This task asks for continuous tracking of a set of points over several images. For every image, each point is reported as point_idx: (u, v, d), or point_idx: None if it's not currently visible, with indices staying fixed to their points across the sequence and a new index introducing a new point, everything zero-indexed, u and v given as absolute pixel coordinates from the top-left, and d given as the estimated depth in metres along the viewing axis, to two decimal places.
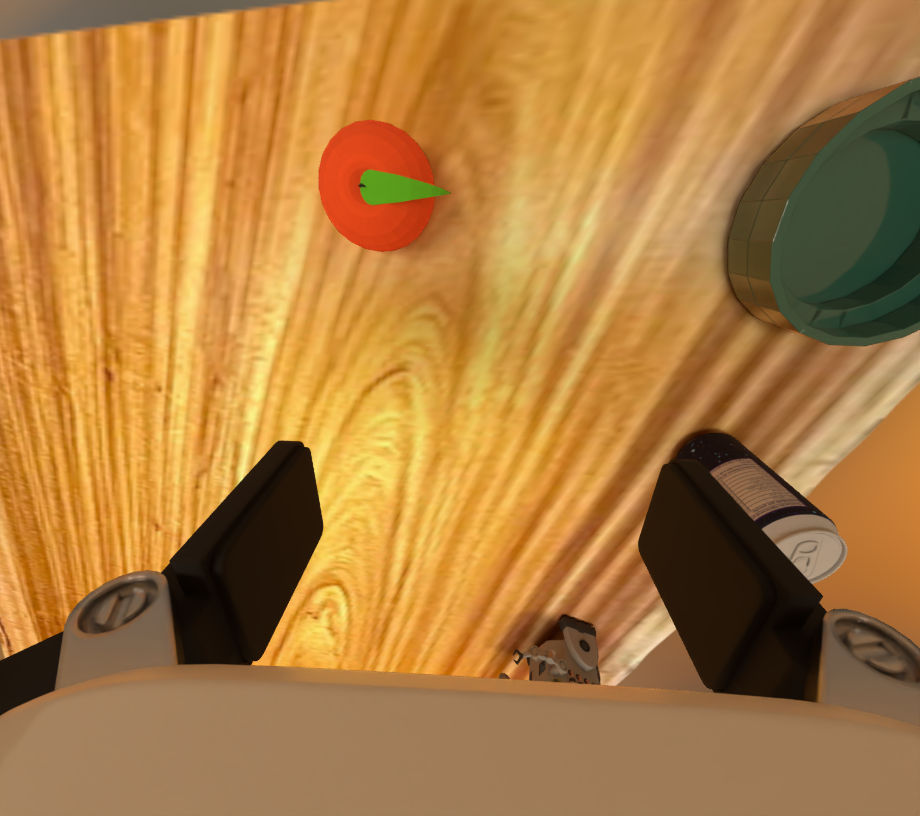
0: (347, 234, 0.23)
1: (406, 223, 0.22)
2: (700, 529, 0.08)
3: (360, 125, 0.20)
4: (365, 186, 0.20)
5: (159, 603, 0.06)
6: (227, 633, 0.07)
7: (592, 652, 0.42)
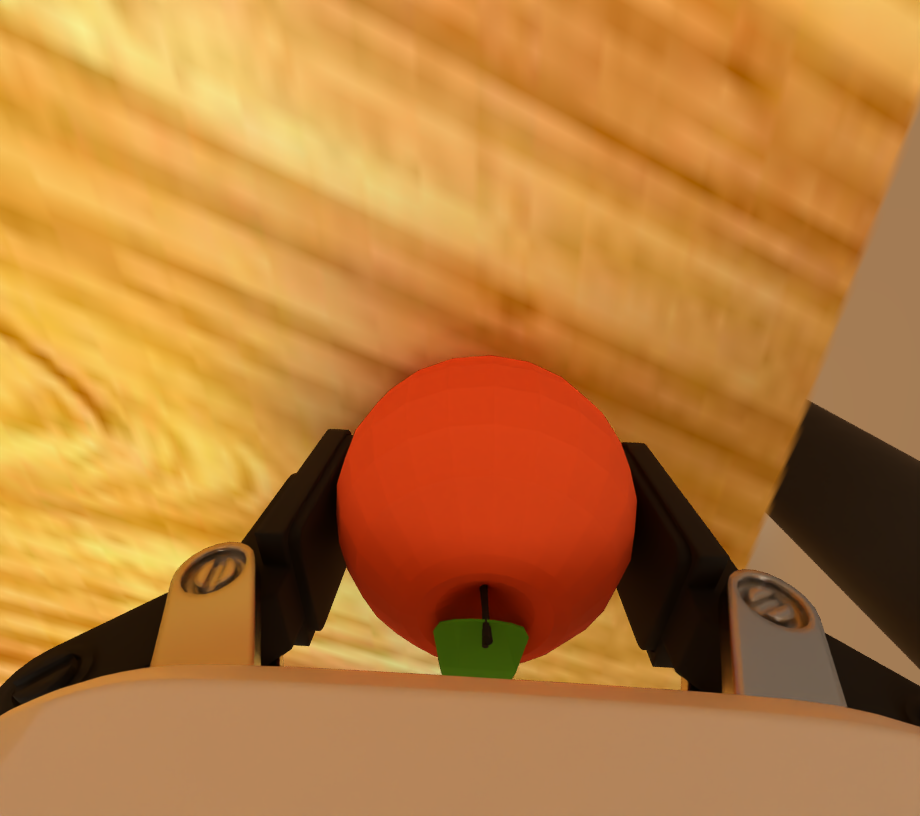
0: (358, 487, 0.07)
1: None
2: (638, 504, 0.08)
3: None
4: None
5: (250, 569, 0.06)
6: (298, 602, 0.07)
7: None
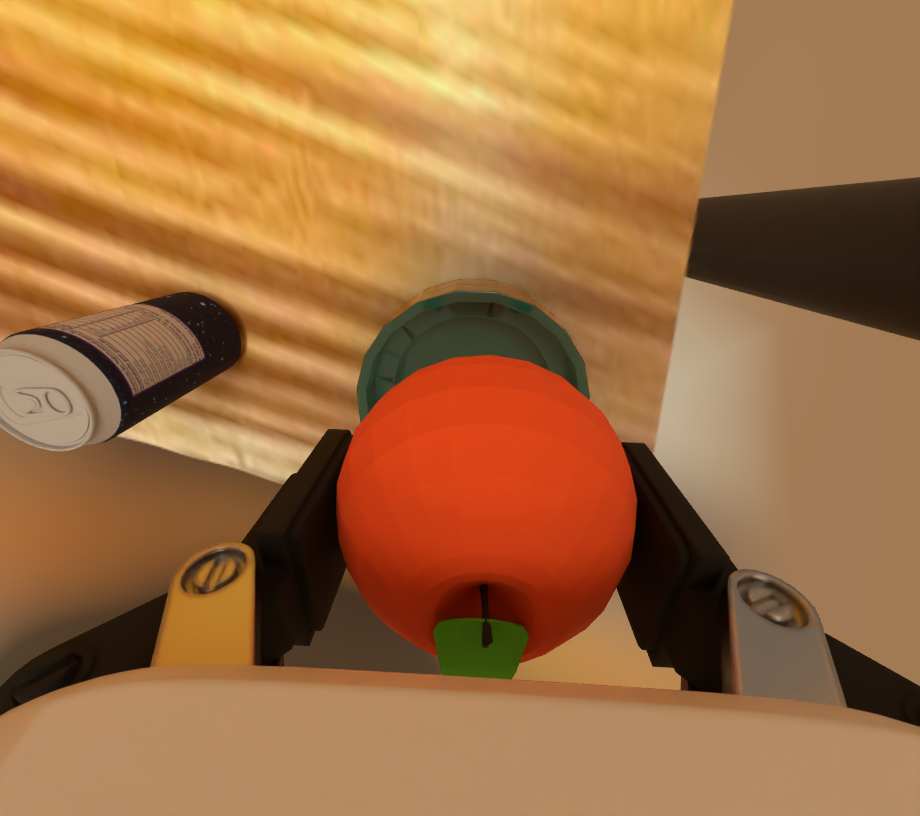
0: (357, 486, 0.07)
1: None
2: (638, 504, 0.08)
3: None
4: None
5: (250, 569, 0.06)
6: (298, 602, 0.07)
7: None
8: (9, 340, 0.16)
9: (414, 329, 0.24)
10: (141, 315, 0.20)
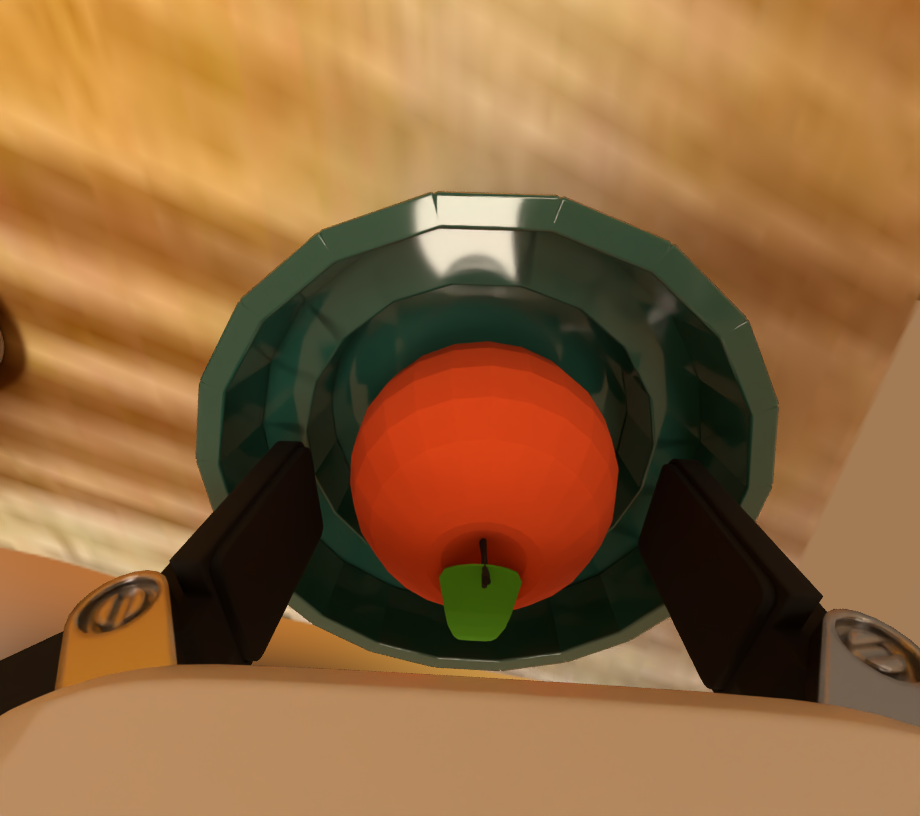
0: (372, 454, 0.08)
1: None
2: (700, 529, 0.08)
3: (612, 504, 0.09)
4: None
5: (159, 603, 0.06)
6: (226, 633, 0.07)
7: None
8: None
9: (341, 316, 0.10)
10: None
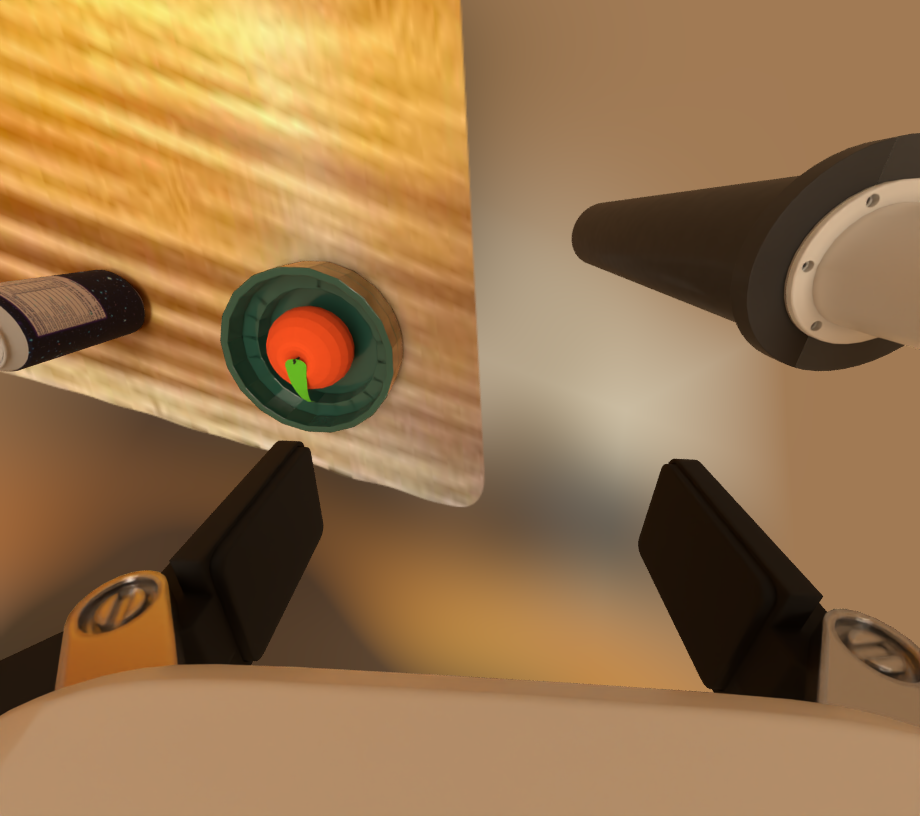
0: (269, 334, 0.30)
1: (284, 379, 0.31)
2: (700, 529, 0.08)
3: (339, 351, 0.30)
4: (295, 362, 0.29)
5: (159, 603, 0.06)
6: (226, 633, 0.07)
7: None
8: None
9: (266, 298, 0.32)
10: (51, 283, 0.28)
